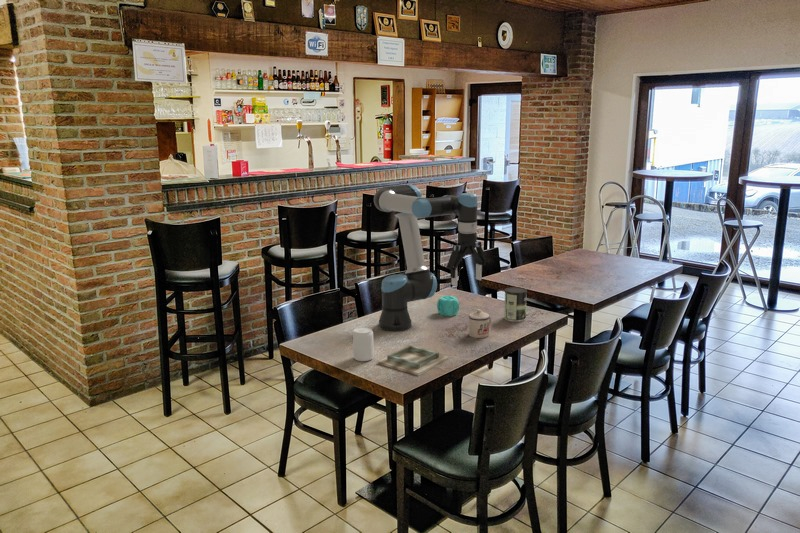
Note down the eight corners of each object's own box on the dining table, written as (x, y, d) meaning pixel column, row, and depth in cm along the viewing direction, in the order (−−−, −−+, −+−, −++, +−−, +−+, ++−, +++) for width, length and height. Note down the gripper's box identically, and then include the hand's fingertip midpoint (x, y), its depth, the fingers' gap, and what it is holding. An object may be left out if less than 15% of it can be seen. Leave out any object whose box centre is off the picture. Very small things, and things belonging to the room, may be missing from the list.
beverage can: (376, 360, 242) (375, 331, 239) (357, 363, 239) (356, 334, 236) (370, 353, 250) (369, 325, 247) (351, 356, 247) (350, 328, 244)
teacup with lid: (479, 340, 262) (479, 314, 259) (464, 334, 269) (464, 309, 266) (498, 333, 269) (498, 308, 267) (482, 328, 276) (483, 304, 273)
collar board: (377, 363, 239) (377, 356, 238) (408, 348, 254) (408, 341, 253) (418, 375, 227) (418, 368, 226) (448, 358, 242) (448, 351, 241)
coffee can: (525, 315, 293) (526, 287, 290) (526, 322, 283) (527, 293, 280) (503, 314, 295) (504, 286, 292) (504, 321, 285) (504, 292, 282)
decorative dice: (445, 317, 293) (445, 301, 291) (436, 312, 300) (436, 297, 298) (459, 314, 296) (459, 298, 294) (450, 310, 303) (450, 294, 301)
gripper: (450, 237, 237) (450, 289, 242) (495, 229, 251) (494, 279, 256) (437, 234, 243) (437, 285, 248) (483, 226, 257) (481, 275, 262)
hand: (466, 282), depth 252 cm, fingers open, 13 cm apart
